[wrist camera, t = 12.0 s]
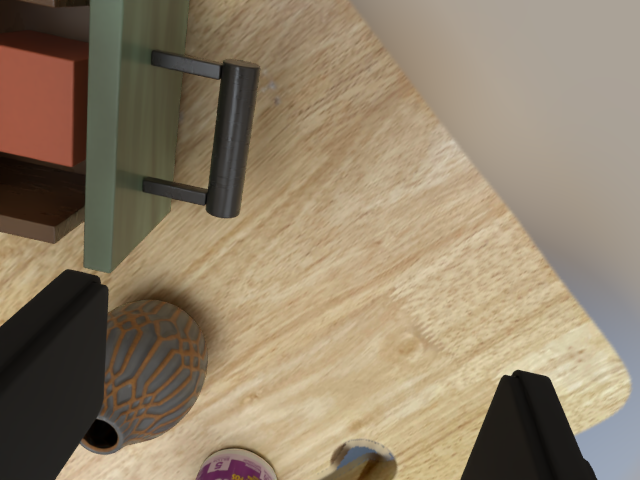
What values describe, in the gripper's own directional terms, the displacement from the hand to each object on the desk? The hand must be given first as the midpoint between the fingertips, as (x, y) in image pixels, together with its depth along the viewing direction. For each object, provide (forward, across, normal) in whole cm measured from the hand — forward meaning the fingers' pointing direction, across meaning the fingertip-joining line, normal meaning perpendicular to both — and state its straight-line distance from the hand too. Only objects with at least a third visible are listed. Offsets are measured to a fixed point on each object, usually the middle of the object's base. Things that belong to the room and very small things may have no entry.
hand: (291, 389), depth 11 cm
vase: (+20, +8, +14) cm, 26 cm away
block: (+18, +13, 0) cm, 22 cm away
